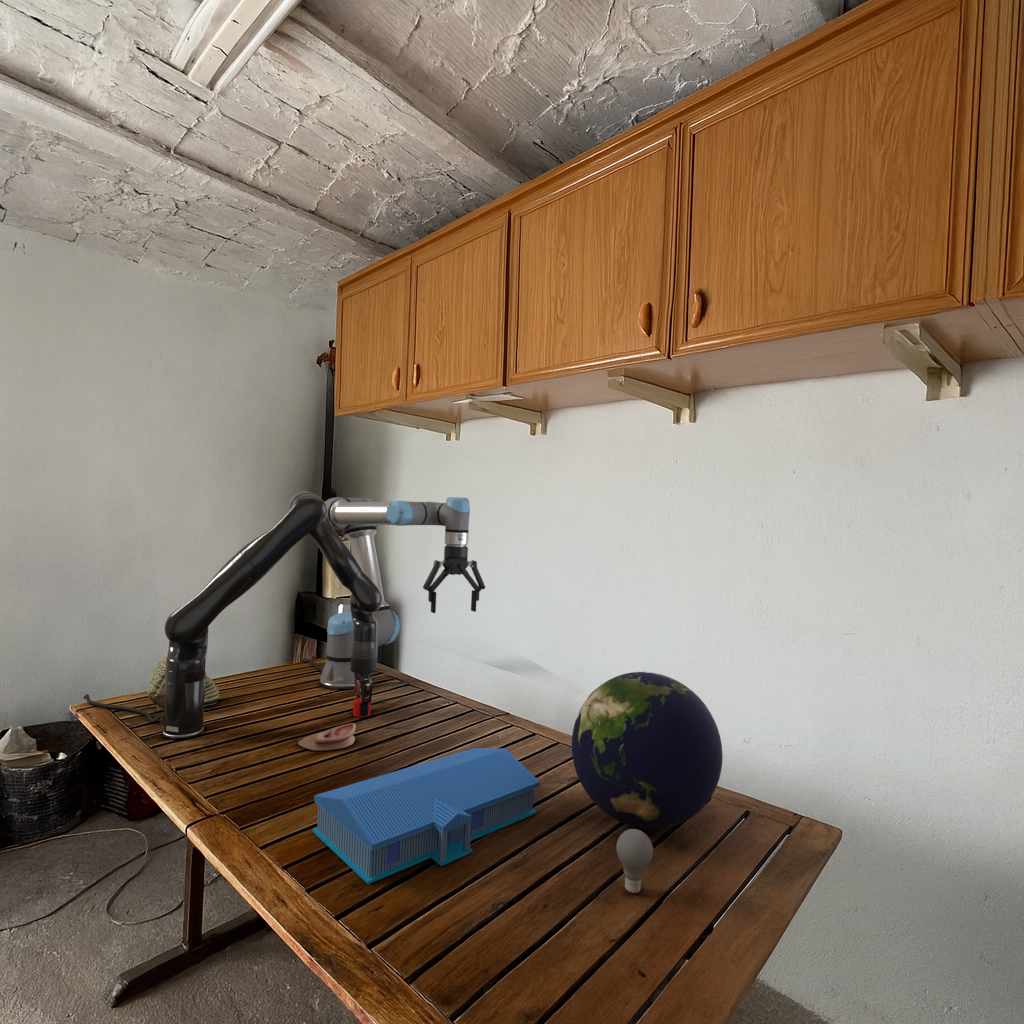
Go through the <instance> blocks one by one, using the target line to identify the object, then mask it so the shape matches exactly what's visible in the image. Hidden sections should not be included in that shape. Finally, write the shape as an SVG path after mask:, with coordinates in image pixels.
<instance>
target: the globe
mask: <svg viewBox="0 0 1024 1024" xmlns="http://www.w3.org/2000/svg"><path fill="white" fill-rule="evenodd" d="M571 735H572V736H571V754H572V761H573V766H574V770H575V773H576V776H577V779H578V780H579V782H580V784H581V786H582V789H583V790H584V791H585V793H586V794H587V796H588V797H589V798H590V800H591V801H592V802H593V803H594V804H595V805H596V807H598V808H599V810H601V811H602V812H603V813H605V814H606V815H607V816H609V817H610V818H612V819H613V820H615V821H617V822H619V823H621V824H624V825H626V826H629V827H632V828H635V829H639V830H652V831H653V830H665V829H669V828H672V827H673V828H674V827H676V826H679V825H681V824H683V823H685V822H687V821H689V820H690V819H692V818H693V817H695V816H696V815H697V814H698V813H700V812H701V811H702V809H703V808H704V807H705V806H707V804H708V802H709V801H710V800H711V798H712V797H713V795H714V793H715V791H716V789H717V787H718V784H719V781H720V778H721V774H722V769H723V768H722V767H723V756H724V755H723V744H722V739H721V734H720V731H719V728H718V726H717V723H716V720H715V719H714V717H713V714H712V713H711V711H710V710H709V708H708V706H707V705H706V703H705V702H704V701H703V700H702V699H701V698H700V696H699V695H697V694H696V692H694V691H693V689H690V688H689V687H688V686H686V685H685V684H684V683H682V682H680V681H679V680H676V679H675V678H672V677H670V676H668V675H664V674H662V673H657V672H653V671H633V672H627V673H623V674H619V675H616V676H614V677H612V678H610V679H608V680H606V681H605V682H603V683H601V684H600V685H599V686H597V687H596V688H595V689H594V690H592V692H591V693H590V694H589V695H588V697H587V698H586V699H585V701H584V702H583V704H582V705H581V707H580V709H579V710H578V713H577V716H576V718H575V721H574V724H573V729H572V734H571Z"/></svg>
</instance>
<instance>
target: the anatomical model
mask: <svg viewBox="0 0 1024 1024" xmlns="http://www.w3.org/2000/svg"><path fill="white" fill-rule="evenodd" d="M356 725H357V724H356V723H352V722H350V723H346V724H342V725H339V726H336V727H333V728H329V729H326V730H324V731H320V732H317V733H313V734H311V735H308V736H306V737H304V738H302V739H300V740H298V742H297V745H299V746H300V747H302V748H304V749H306V750H309V751H332V750H339V749H344V748H347V747H350V746H351V745H353V744H354V743H355V740H356V737H355V735H354V734H355V731H356V727H357V726H356Z"/></svg>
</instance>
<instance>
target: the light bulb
mask: <svg viewBox="0 0 1024 1024" xmlns="http://www.w3.org/2000/svg"><path fill="white" fill-rule="evenodd" d="M615 849H616V854H617V857H618V859H619V861H620V863H621V865H622V867H623V873H624V874H623V875H624V876H625V878H624V888H625V890H627V891H628V892H630V893H634V894H635V893H639V892H640V891H641V889H642V887H641V886H642V879H643V877H644V875H645V871H646V868H647V867H648V866H649V864H650V863H651V861H652V859H653V855H654V847H653V843H652V841H651V838H649V836H648V835H647V834H646V833H645V832H643V831H642V830H641V829H638V828H629V829H627V830H625V831H623V832H622V833H621V834H620V835H619V837H618V839H617V841H616V847H615Z"/></svg>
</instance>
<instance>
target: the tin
mask: <svg viewBox="0 0 1024 1024" xmlns="http://www.w3.org/2000/svg"><path fill="white" fill-rule="evenodd" d="M366 698H367V696H365V699H366ZM352 703H353V704H352V705H353V706H352V716H353V717H356V718H367V717H369V716H371V715H372V701H371V702H370V703H369V706H368V715H367V716H361V715H360V698H356V697H355V698H354V699H353V702H352Z"/></svg>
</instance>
